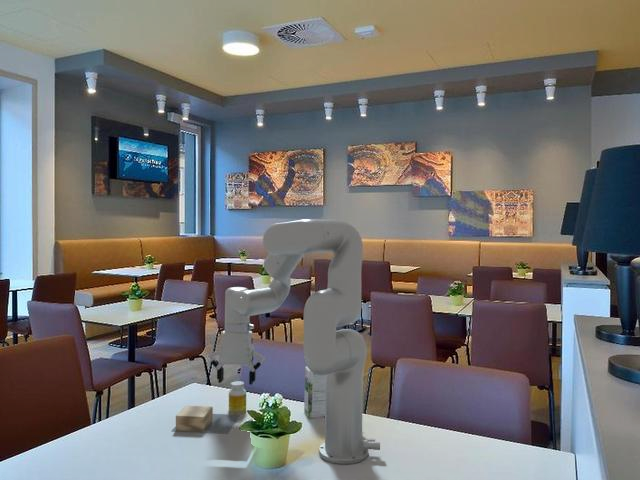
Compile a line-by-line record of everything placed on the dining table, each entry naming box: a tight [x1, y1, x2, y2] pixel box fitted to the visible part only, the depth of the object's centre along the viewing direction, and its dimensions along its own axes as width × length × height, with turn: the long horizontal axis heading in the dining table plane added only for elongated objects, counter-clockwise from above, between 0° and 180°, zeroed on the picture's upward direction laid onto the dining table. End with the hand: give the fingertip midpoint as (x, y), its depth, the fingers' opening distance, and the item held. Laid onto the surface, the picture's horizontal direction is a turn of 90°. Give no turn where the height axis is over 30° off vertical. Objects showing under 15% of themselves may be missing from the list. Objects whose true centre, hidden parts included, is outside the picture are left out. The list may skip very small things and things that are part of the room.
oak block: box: [175, 405, 214, 431], centre depth 144 cm, size 8×8×4 cm
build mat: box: [171, 413, 241, 435], centre depth 146 cm, size 16×14×1 cm
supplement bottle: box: [228, 380, 247, 414], centre depth 156 cm, size 5×5×10 cm
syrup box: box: [303, 366, 327, 419], centre depth 156 cm, size 6×6×14 cm
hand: (236, 382), depth 156 cm, fingers open, 9 cm apart
